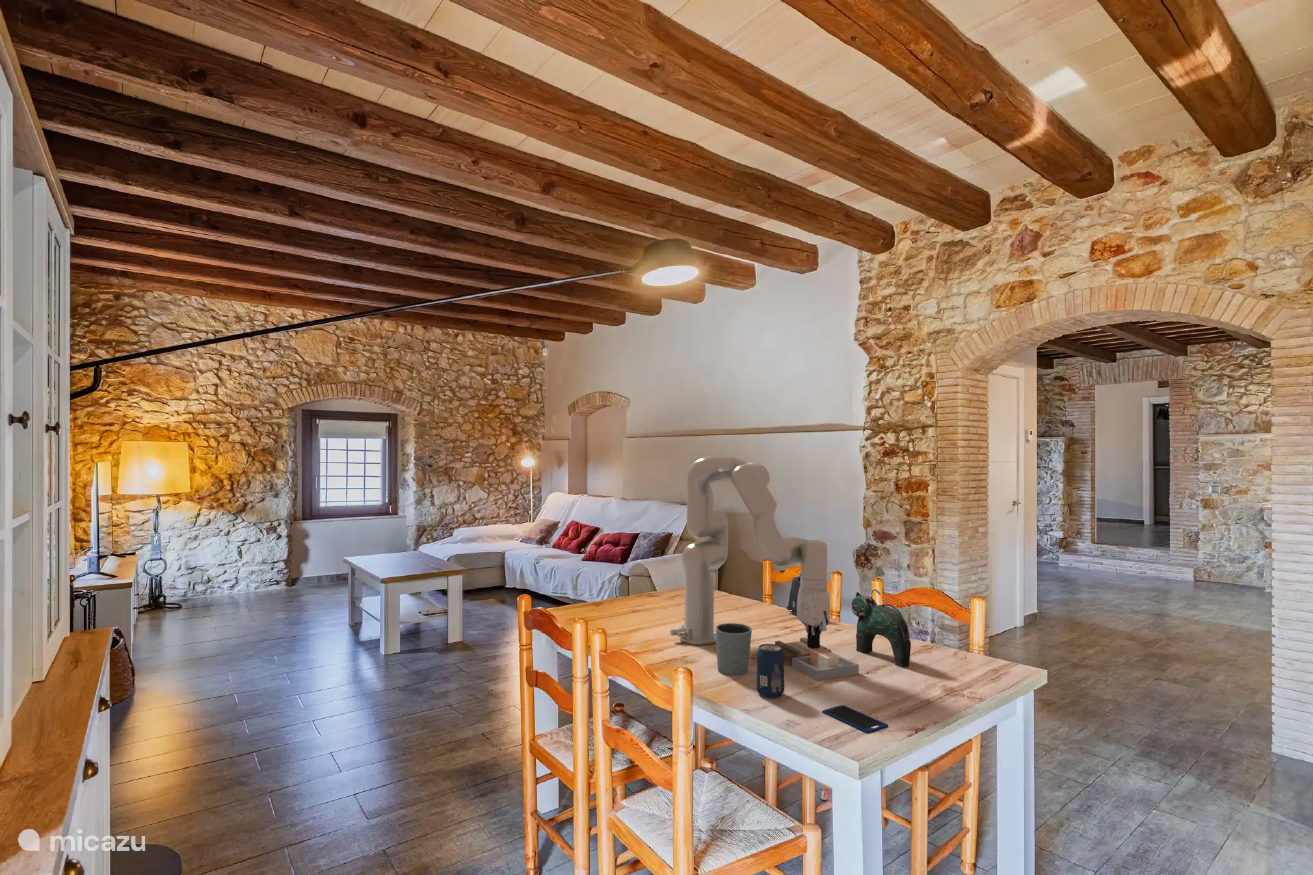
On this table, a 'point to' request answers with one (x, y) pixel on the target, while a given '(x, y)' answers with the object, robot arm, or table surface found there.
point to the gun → (794, 595)
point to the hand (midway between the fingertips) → (813, 647)
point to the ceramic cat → (881, 627)
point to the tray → (812, 671)
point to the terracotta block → (816, 655)
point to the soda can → (770, 671)
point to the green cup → (733, 648)
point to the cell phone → (855, 719)
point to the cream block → (827, 660)
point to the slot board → (795, 650)
